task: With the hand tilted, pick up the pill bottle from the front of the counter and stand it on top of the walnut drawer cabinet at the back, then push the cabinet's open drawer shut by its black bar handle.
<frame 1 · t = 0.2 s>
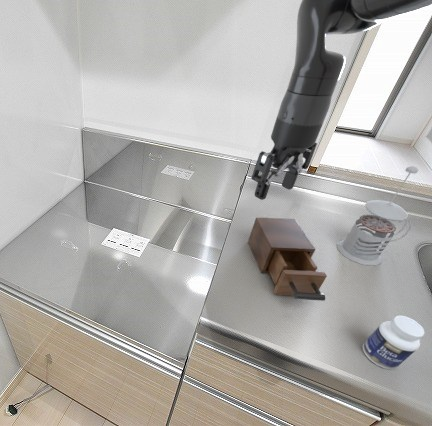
hand: (273, 192, 63), 21 cm above the worktop, tool pointing down, fingers open, 8 cm apart
pill bottle: (378, 356, 55), on the worktop
cabinet: (273, 257, 76), on the worktop
french press: (362, 253, 77), on the worktop
drawer: (294, 274, 66), point 4 cm above the worktop, slide at 6.0 cm
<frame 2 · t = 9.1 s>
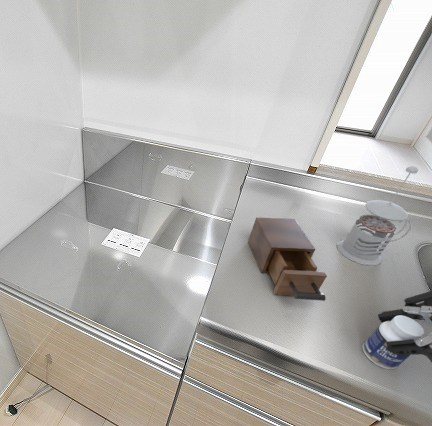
hand: (384, 333, 52), 6 cm above the worktop, tool tilted 45°, fingers closed on pill bottle, 5 cm apart
pill bottle: (378, 356, 55), on the worktop, touching gripper
everything else where it was.
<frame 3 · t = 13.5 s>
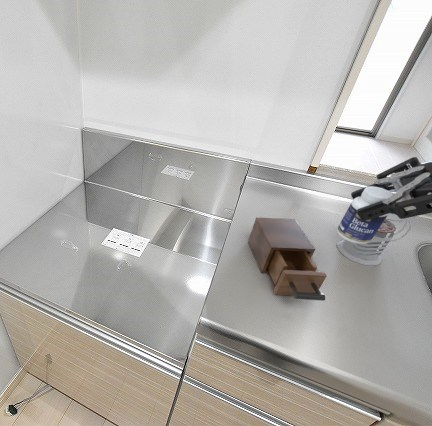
hand: (356, 206, 53), 24 cm above the worktop, tool tilted 45°, fingers closed on pill bottle, 5 cm apart
pill bottle: (352, 236, 56), point 18 cm above the worktop, touching gripper
everything else where it was.
when the fingers open (15 cm above the worktop, at t = 18.2 s): pill bottle stays where it is, resting on cabinet.
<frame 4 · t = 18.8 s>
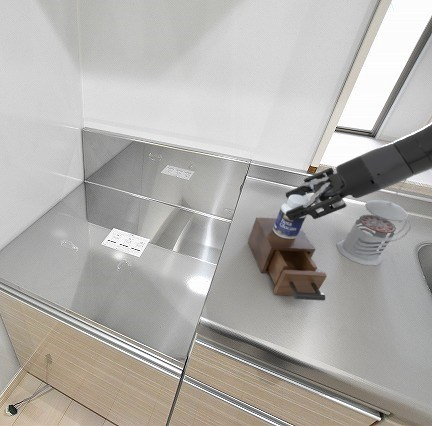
hand: (287, 206, 67), 16 cm above the worktop, tool tilted 45°, fingers open, 8 cm apart
pill bottle: (284, 233, 71), point 8 cm above the worktop, touching cabinet
everything else where it was.
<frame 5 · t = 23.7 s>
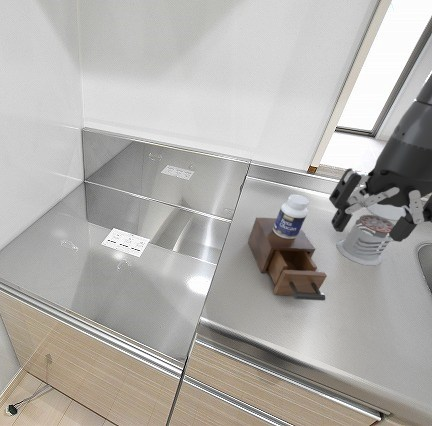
hand: (365, 233, 49), 23 cm above the worktop, tool pointing down, fingers open, 8 cm apart
nothing on the worktop moved.
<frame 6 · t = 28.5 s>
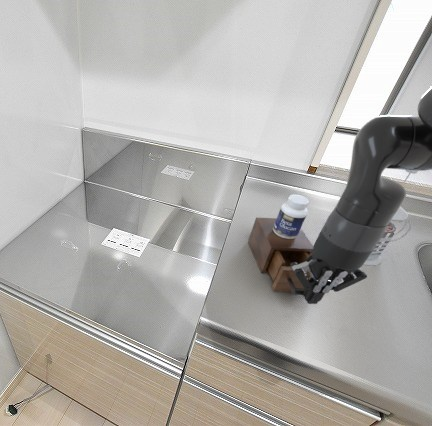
hand: (309, 300, 60), 5 cm above the worktop, tool pointing down, fingers closed
drawer: (292, 271, 67), point 4 cm above the worktop, slide at 5.0 cm, touching gripper
everything else where it was.
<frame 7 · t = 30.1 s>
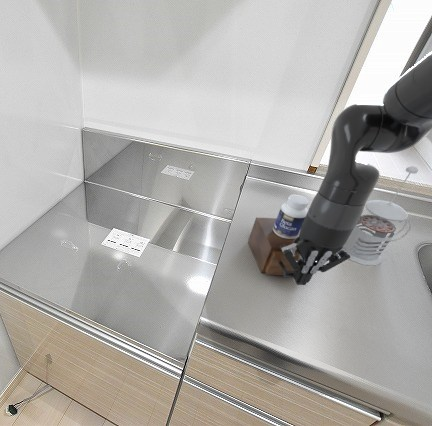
hand: (299, 282, 64), 5 cm above the worktop, tool pointing down, fingers closed
drawer: (284, 256, 71), point 4 cm above the worktop, slide at 0.0 cm, touching gripper
everything else where it was.
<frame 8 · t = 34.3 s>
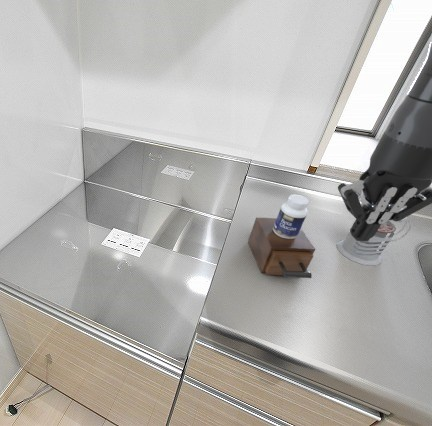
hand: (358, 237, 48), 23 cm above the worktop, tool pointing down, fingers closed
drawer: (284, 256, 71), point 4 cm above the worktop, slide at 0.0 cm
everything else where it was.
at the end: drawer slide at 0.0 cm; pill bottle inside the target area on the cabinet (0.2 cm from its centre), point 8.4 cm above the cabinet's base; pill bottle tilted 0° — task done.
